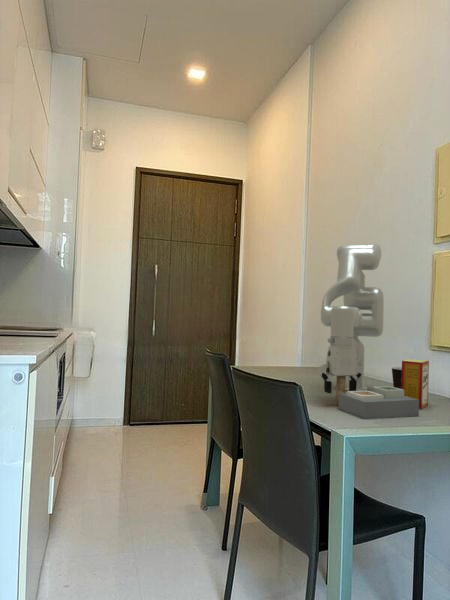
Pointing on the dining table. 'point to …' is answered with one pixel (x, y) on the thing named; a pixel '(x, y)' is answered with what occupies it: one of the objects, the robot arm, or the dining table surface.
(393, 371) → the coffee mug
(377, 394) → the grey compartment tray
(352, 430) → the dining table surface
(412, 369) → the baking soda box
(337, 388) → the wooden block
